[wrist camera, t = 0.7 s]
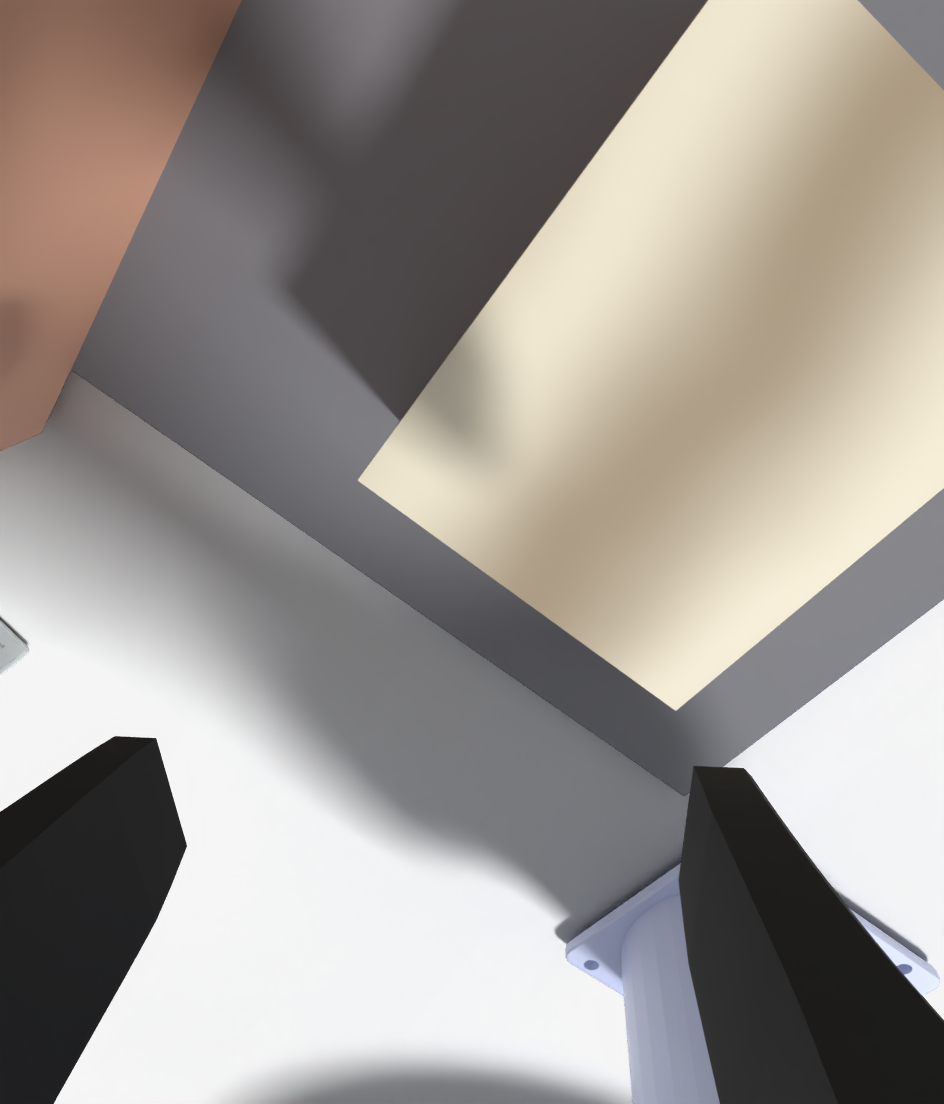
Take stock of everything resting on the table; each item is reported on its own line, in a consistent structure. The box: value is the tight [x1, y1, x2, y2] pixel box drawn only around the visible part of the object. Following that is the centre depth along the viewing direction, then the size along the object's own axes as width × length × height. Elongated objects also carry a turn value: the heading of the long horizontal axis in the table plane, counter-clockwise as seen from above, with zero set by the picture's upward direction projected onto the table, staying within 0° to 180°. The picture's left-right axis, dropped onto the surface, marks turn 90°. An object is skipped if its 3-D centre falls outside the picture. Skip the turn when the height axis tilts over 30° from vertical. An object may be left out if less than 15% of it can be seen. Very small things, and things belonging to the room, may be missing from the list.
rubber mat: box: [71, 0, 944, 796], centre depth 15 cm, size 25×20×1 cm
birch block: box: [358, 0, 944, 711], centre depth 14 cm, size 8×10×4 cm
